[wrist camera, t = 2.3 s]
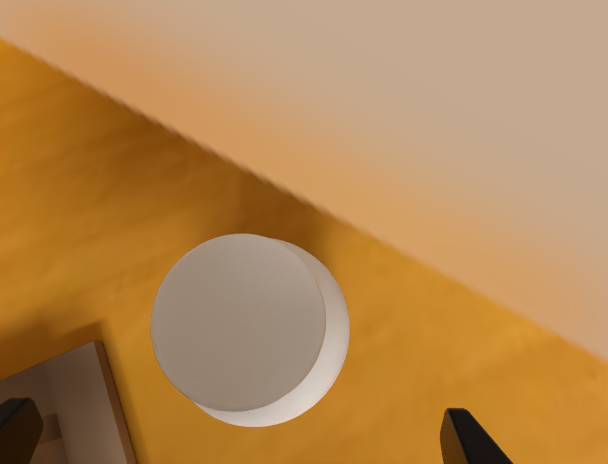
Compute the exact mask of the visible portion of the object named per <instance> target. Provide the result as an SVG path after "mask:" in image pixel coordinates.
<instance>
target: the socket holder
mask: <svg viewBox="0 0 608 464" xmlns="http://www.w3.org/2000/svg"><path fill="white" fill-rule="evenodd" d="M15 396H20V397H31V398H33V399H34V401H35V403H36V405H37V407H38V409H39V411H40V414H41V416H42V418H43V420H44V428H43V432H42V435H41V437H40V440H39V442H38V445H37V447H36V449H35V452H34V454H33V457H32V459H31V462H30V464H137V462H136V459H135V455H134V452H133V448H132V444H131V441H130V437H129V434H128V430H127V427H126V423H125V420H124V416H123V413H122V409H121V405H120V402H119V398H118V395H117V391H116V388H115V384H114V381H113V377H112V374H111V370H110V366H109V363H108V359H107V356H106V352H105V349H104V345H103V342H102V341H92V342H89V343H87V344H85V345H82V346H80V347H78V348H75V349H73V350H71V351H68V352H66V353H64V354H61V355H59V356H57V357H54V358H52V359H50V360H47V361H45V362H43V363H40V364H38V365H36V366H33V367H31V368H29V369H26V370H24V371H22V372H19V373H17V374H15V375H12V376H10V377H8V378H5V379H3V380H1V381H0V404H1V403H3V402H4V401H6V400H7V399H9V398H11V397H15Z"/></svg>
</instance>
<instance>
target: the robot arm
mask: <svg viewBox="0 0 608 464" xmlns="http://www.w3.org/2000/svg"><path fill="white" fill-rule="evenodd" d="M43 428H44V420H43V418H42V416H41V414H40V411H39V409H38V407H37V405H36V403H35V401H34V399H33V398H31V397H20V396H15V397H11V398H9V399H7V400H6V401H4V402H3V403H1V404H0V464H30V462H31V459H32V457H33V454H34V452H35V449H36V447H37V445H38V442H39V440H40V437H41V435H42V432H43ZM440 444H441V450H442V456H443V462H444V464H513V463H512V462H511V460H510V459H509V458H508V457H507V456H506V455H505V453H504V452H503V451H502V450H501V449H500V448H499V446H498V445H497V444H496V443H495V442H494V440H493V439H492V438H491V437H490V436H489V435H488V433H487V432H486V431H485V430H484V429H483V428H482V426H481V425H480V424H479V423H478V422H477V421H476V419H475V418H474V417H473V416H472V415H471V413H470V412H469V411H468V410H466V409H464V408H447V409H446V410H445V413H444V418H443V422H442V427H441V431H440Z"/></svg>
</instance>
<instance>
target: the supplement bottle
mask: <svg viewBox="0 0 608 464" xmlns="http://www.w3.org/2000/svg"><path fill="white" fill-rule="evenodd" d="M151 338H152V344H153V348H154V352H155V355H156V358H157V361H158V363H159V365H160V367H161V369H162V371H163V373H164V374H165V376H166V377H167V378H168V380H169V381H170V382H171V384H172V385H173V386H174V387H176V388H177V389H178V390H179V391H180V392H181V393H182V394H183V395H184V396H186V397H187V398H189V399H190V400H191V401H192V402H193V403H194V404H196V405H197V406H198V407H199V408H201V409H202V410H203V411H205V412H206V413H208V414H209V415H211V416H212V417H214V418H216V419H219V420H221V421H223V422H226V423H229V424H233V425H238V426H245V427H264V426H271V425H276V424H280V423H283V422H286V421H288V420H291V419H293V418H295V417H297V416H299V415H301V414H302V413H304V412H305V411H307V410H308V409H310V408H311V407H312V406H313V405H315V404H316V403H317V402H318V401H319V400H320V399H321V398H322V397H323V396H324V395H325V394H326V393H327V391H328V390H329V389H330V388H331V386H332V385H333V383H334V382H335V380H336V378H337V376H338V375H339V373H340V371H341V368H342V366H343V364H344V361H345V358H346V355H347V350H348V345H349V339H350V323H349V315H348V309H347V305H346V302H345V299H344V296H343V293H342V291H341V289H340V287H339V285H338V283H337V282H336V280H335V278H334V277H333V276H332V274H331V273H330V271H329V270H328V269H327V268H326V267H325V266H324V265H323V264H322V263H321V262H320V261H319V260H318V259H317V258H315V257H314V256H313V255H311V254H310V253H308V252H307V251H305V250H303V249H302V248H300V247H298V246H296V245H294V244H292V243H289V242H286V241H282V240H278V239H273V238H267V237H264V236H259V235H255V234H229V235H224V236H220V237H216V238H213V239H211V240H208V241H206V242H204V243H202V244H200V245H198V246H196V247H195V248H193V249H192V250H190V251H189V252H188V253H186V254H185V255H184V256H183V257H182V258H181V259H180V260H179V261H178V262H177V263H176V264H175V265H174V266H173V267H172V268H171V270H170V271H169V272H168V273H167V275H166V277H165V278H164V280H163V281H162V283H161V285H160V287H159V290H158V292H157V295H156V298H155V301H154V305H153V310H152V315H151Z"/></svg>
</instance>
